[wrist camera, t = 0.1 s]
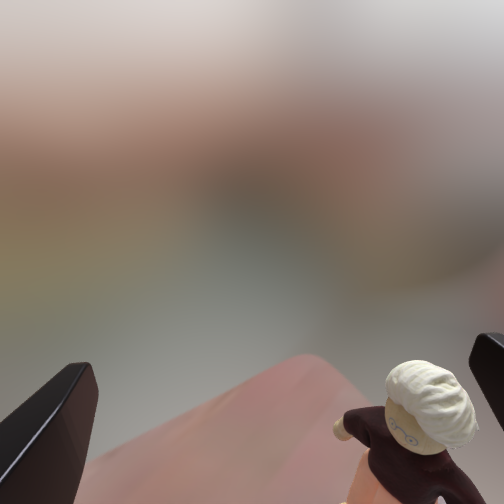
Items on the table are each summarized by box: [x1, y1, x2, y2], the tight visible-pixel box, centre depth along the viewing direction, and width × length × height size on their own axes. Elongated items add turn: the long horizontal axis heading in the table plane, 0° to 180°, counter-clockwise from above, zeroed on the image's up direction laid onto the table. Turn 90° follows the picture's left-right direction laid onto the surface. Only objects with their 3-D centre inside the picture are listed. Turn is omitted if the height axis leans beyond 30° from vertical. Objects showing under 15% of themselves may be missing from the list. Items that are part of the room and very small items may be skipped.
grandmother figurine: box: [333, 360, 486, 504], centre depth 16 cm, size 8×4×13 cm, turn 50°
